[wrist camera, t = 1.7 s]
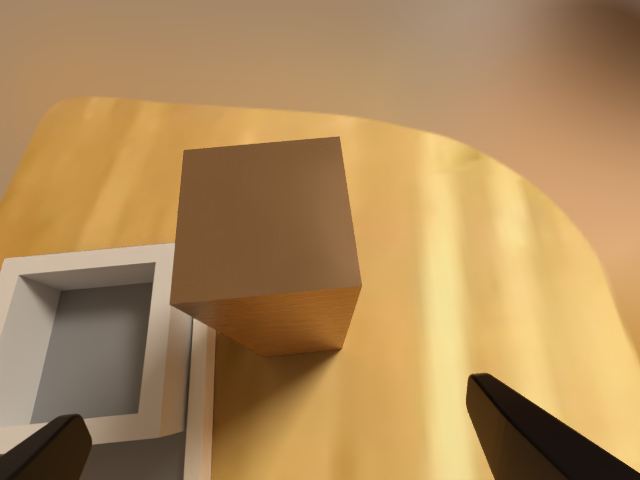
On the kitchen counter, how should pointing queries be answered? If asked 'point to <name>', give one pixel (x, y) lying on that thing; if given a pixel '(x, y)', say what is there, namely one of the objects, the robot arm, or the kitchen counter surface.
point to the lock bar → (267, 245)
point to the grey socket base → (107, 361)
